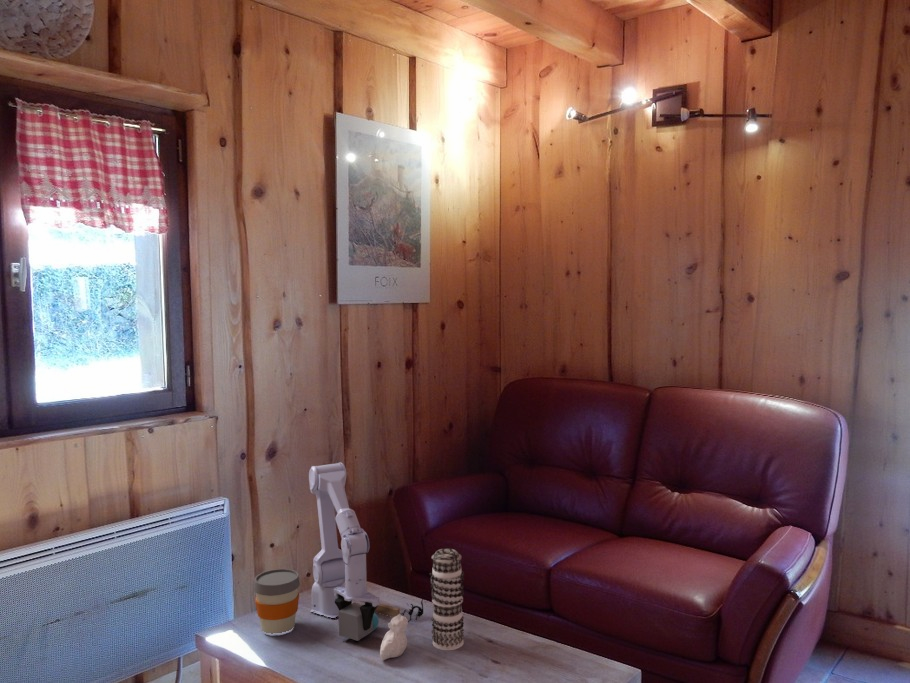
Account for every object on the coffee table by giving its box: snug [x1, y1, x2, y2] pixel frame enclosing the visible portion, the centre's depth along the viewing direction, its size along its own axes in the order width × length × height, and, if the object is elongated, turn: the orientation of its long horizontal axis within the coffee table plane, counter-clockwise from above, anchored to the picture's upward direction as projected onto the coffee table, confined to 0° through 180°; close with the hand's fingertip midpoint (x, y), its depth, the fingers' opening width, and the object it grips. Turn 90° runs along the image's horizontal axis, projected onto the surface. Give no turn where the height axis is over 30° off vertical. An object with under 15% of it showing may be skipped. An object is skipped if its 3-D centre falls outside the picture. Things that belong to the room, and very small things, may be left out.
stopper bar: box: [375, 603, 401, 618], centre depth 206 cm, size 8×1×2 cm, turn 59°
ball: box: [373, 613, 380, 631], centre depth 197 cm, size 5×5×5 cm
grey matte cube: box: [338, 602, 374, 642], centre depth 192 cm, size 6×6×7 cm
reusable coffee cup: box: [253, 568, 301, 634], centre depth 198 cm, size 13×13×15 cm
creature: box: [400, 598, 424, 623], centre depth 204 cm, size 8×5×8 cm
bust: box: [379, 614, 409, 661], centre depth 183 cm, size 12×8×11 cm
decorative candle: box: [429, 547, 465, 651], centre depth 188 cm, size 9×9×25 cm
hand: (356, 625), depth 192 cm, fingers closed on grey matte cube, 6 cm apart
